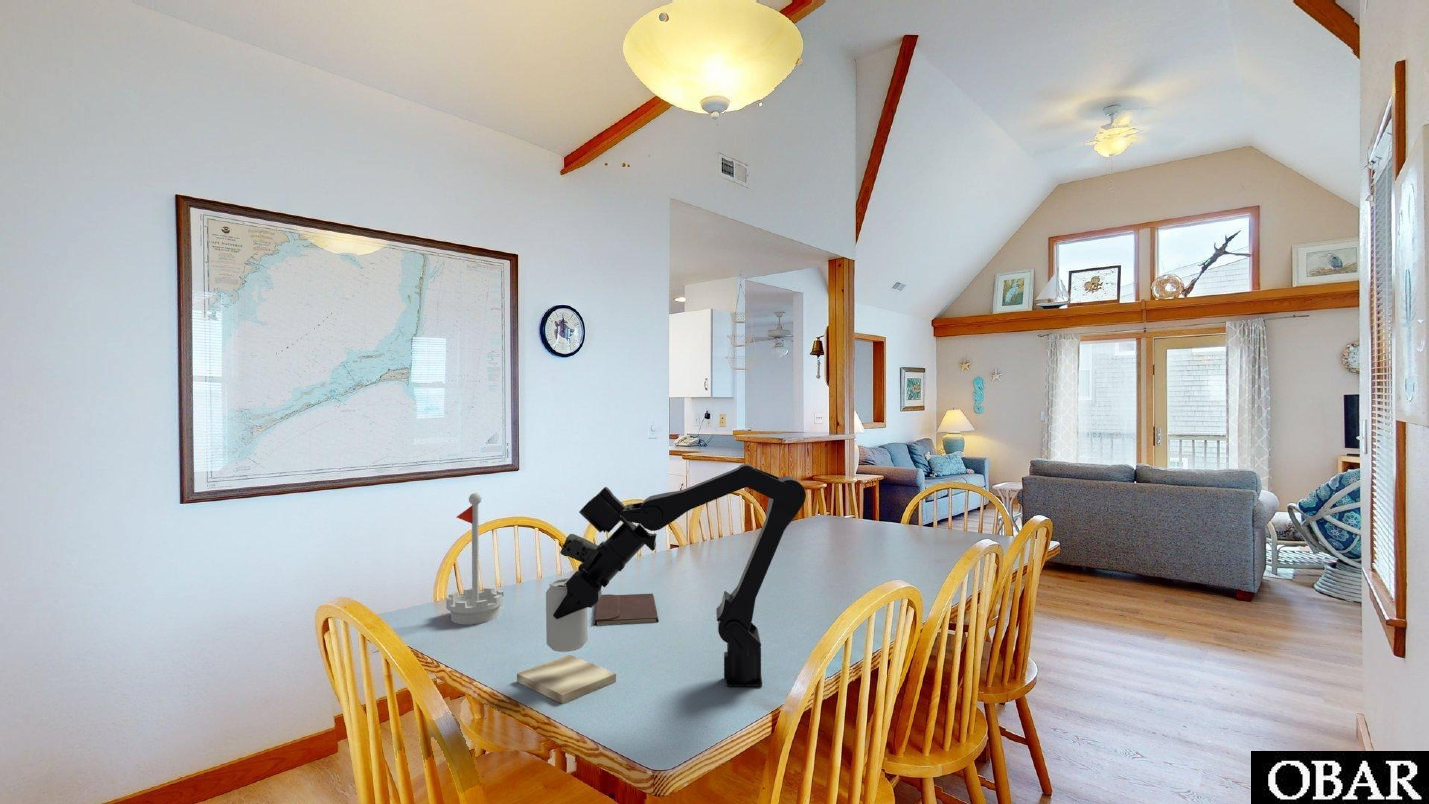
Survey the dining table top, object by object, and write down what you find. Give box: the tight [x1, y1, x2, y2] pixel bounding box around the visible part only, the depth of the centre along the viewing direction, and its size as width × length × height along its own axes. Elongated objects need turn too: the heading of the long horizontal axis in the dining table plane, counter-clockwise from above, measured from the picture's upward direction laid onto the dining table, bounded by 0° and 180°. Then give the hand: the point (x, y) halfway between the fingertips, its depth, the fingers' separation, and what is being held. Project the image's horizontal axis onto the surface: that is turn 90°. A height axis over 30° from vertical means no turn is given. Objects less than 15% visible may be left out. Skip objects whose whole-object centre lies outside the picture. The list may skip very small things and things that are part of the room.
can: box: [545, 577, 589, 653], centre depth 123 cm, size 8×8×12 cm
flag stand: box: [445, 492, 505, 625], centre depth 161 cm, size 13×13×30 cm
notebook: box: [593, 593, 659, 626], centre depth 165 cm, size 15×20×2 cm
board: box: [516, 654, 617, 704], centre depth 123 cm, size 14×12×2 cm
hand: (559, 610), depth 123 cm, fingers closed on can, 7 cm apart
